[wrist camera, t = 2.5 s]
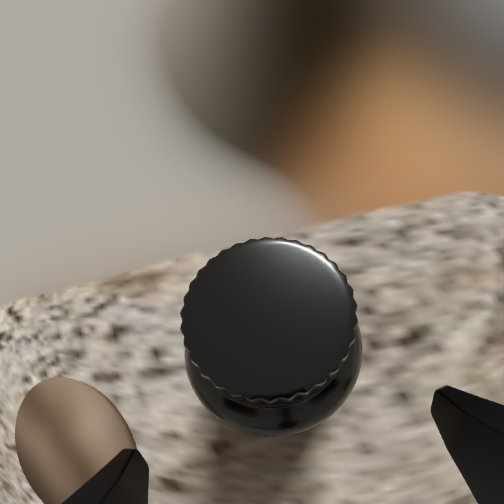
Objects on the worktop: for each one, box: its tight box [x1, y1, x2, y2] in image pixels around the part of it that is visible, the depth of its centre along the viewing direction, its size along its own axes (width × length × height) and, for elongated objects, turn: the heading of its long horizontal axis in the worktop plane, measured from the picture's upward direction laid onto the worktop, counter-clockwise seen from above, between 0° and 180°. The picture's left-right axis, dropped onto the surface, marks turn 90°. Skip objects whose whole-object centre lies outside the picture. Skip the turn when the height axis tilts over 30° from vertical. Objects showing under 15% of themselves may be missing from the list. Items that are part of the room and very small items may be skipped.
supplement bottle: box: [180, 237, 362, 437], centre depth 13 cm, size 7×7×12 cm
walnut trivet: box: [15, 377, 137, 504], centre depth 15 cm, size 12×12×1 cm
